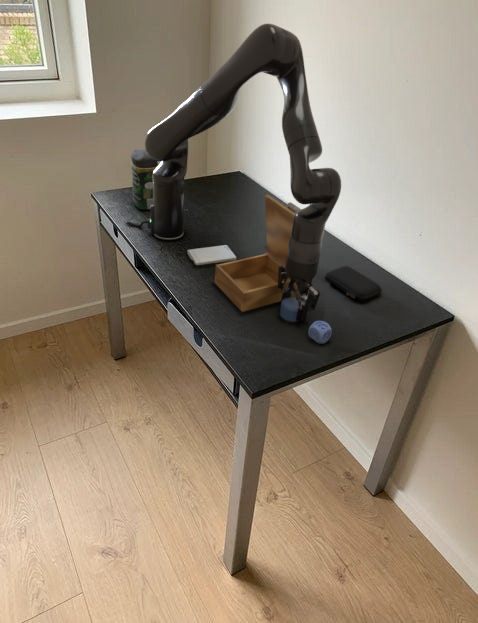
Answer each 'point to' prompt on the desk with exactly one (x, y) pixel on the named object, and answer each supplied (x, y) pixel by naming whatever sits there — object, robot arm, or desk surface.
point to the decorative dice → (320, 331)
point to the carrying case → (353, 283)
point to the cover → (279, 227)
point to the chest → (250, 281)
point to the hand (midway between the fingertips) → (292, 312)
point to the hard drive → (211, 255)
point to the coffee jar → (142, 178)
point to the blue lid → (289, 309)
